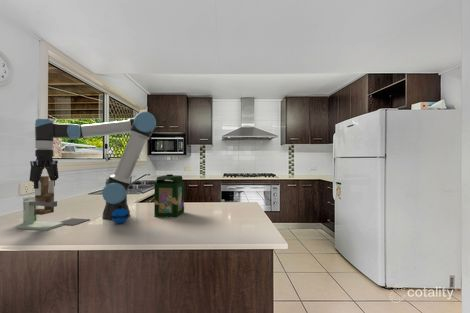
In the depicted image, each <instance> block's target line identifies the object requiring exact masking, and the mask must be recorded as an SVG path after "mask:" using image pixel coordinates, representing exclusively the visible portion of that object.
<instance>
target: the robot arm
mask: <svg viewBox="0 0 470 313" xmlns="http://www.w3.org/2000/svg"><path fill="white" fill-rule="evenodd" d="M34 125H35V126H34V135H35V136H34V138H35V143H34V144H35V145H34V146H35V147H34V148H35V151H34V152H35V154H34V155H35V157H36V158H35V160H30V162H29V163H30V169H29V170H30V172H29V182H32V183H33V189H34V196H35V195H41V182H39V181H40V177H41V176H42V174H43V171H44V170H45V169H46V172H47V176H49V190H48V193H54V194H55V186H56V181H57V179H59V170H58V163H59V162H58V160H54V159H53V157H54V150H53V149H54V139H69V140H71V141H72V140H73V141H75V140H79V139H86V138H87V139H88V138H95V137H103V136H104V137H105V136H112V135H121V134H130V136H129V139H128V140H127V142H126V145H125V148H124V149H123V152H122V154H121V157H120V158H119V159H120V160H119V162H118V164H117V166H116V168H115V170H114V173H113V174H111V175H109V177H108V178H106V179H105V183H104V184H105V185H104V187H103V189H102V191H101V192H102V194H101V195H102V198H103V200H104V201H105V206H104V208H103V212H102V219H105V220H112V218H111V215H112V213H113V211H114V210H115V209H117V208H119V205H121V206H122V207H121V208H124V209H126V210H127V212H128V213H129V216H128V217H130V216H131V211H130V209H129V204H128V191H129V189H130V185H131V180H130V179H131V176H132V175H133V174H132V173H133V172H134V169H135V167H136V165H137V162H138V161H139V158H140V155H141V153H142V151H143V148H144V146H145V143H146V142H147V141H148V140H150V139H151V136H152V135H153V131H154V130H155V129H156V126H157V120H156V118H155V116H154V115H153V114H152V113H151V112H148V111H140V112H138V113H137V114H136V115H135V116H134V117H131V118H129V119H127V120H120V121H119V120H118V121H109V122H99V123H91V124H81V125H80V124H77V123H58V122H57V123H56V122H54V120H53V119H51V118H37V119H36V120H35V123H34Z"/></svg>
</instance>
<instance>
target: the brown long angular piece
mask: <svg viewBox="0 0 470 313" xmlns="http://www.w3.org/2000/svg"><path fill="white" fill-rule="evenodd" d="M49 181H50V178H49V175H41V177H40V180H39V182H41V195H35V194H34V196H35V202H45V201H49V202H54V201H55V192H54V193H49ZM54 208H55V207H52V206H43V208H38V209H35V215H38V216H43V215H47V214H50V213H51V214H52V213H55V212H54V211H55V209H54Z"/></svg>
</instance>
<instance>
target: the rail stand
mask: <svg viewBox="0 0 470 313" xmlns="http://www.w3.org/2000/svg"><path fill="white" fill-rule="evenodd" d="M34 206H38V207H39V206H40V207H44V206H52V207H54V208H55V207H58V201H57V200H54V202H49V201H45V202H35V201H31V200H30V201H25V224H23V223H22V224H19V225H16V229H22V230H35V231H37V230H38V231H49V230H52V229H56V228H58V227H62V226H65V225H64V223H60V222H61V221H59V222H58V221H57V222H56V221H40V220H38V221H34Z"/></svg>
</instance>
